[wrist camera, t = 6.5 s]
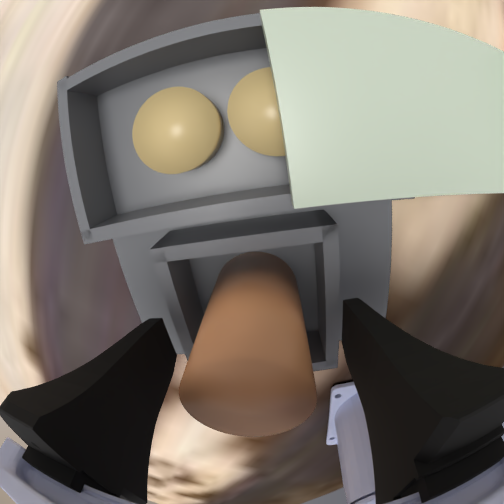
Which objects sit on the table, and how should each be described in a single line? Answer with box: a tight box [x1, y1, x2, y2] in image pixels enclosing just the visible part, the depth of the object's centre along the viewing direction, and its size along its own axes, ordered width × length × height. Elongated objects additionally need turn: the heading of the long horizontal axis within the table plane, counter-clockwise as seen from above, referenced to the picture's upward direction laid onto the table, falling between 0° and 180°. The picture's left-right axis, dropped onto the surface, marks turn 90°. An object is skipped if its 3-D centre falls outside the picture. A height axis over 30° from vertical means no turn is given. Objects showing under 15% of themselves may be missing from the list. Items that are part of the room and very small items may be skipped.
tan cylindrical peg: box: [179, 252, 317, 437], centre depth 10 cm, size 4×4×7 cm
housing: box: [57, 13, 415, 371], centre depth 11 cm, size 16×14×4 cm
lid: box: [260, 7, 504, 209], centre depth 6 cm, size 7×12×3 cm, turn 99°
